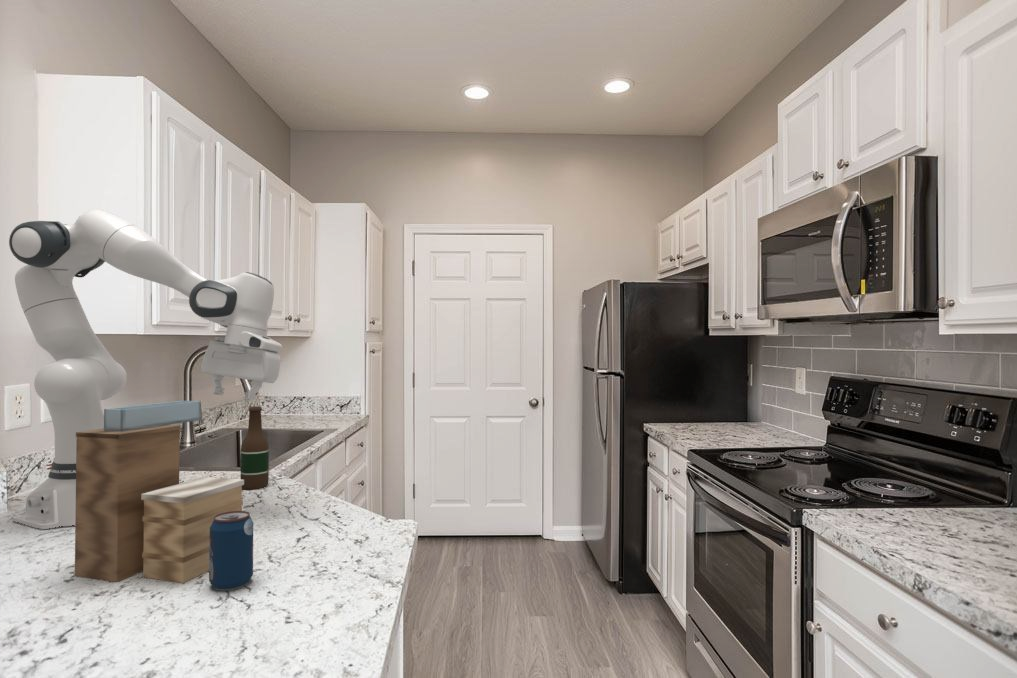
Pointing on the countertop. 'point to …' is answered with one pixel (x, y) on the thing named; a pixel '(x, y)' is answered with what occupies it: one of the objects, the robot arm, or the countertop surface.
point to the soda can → (231, 550)
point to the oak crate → (184, 525)
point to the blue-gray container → (151, 415)
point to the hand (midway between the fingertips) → (233, 397)
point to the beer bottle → (255, 453)
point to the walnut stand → (118, 495)
